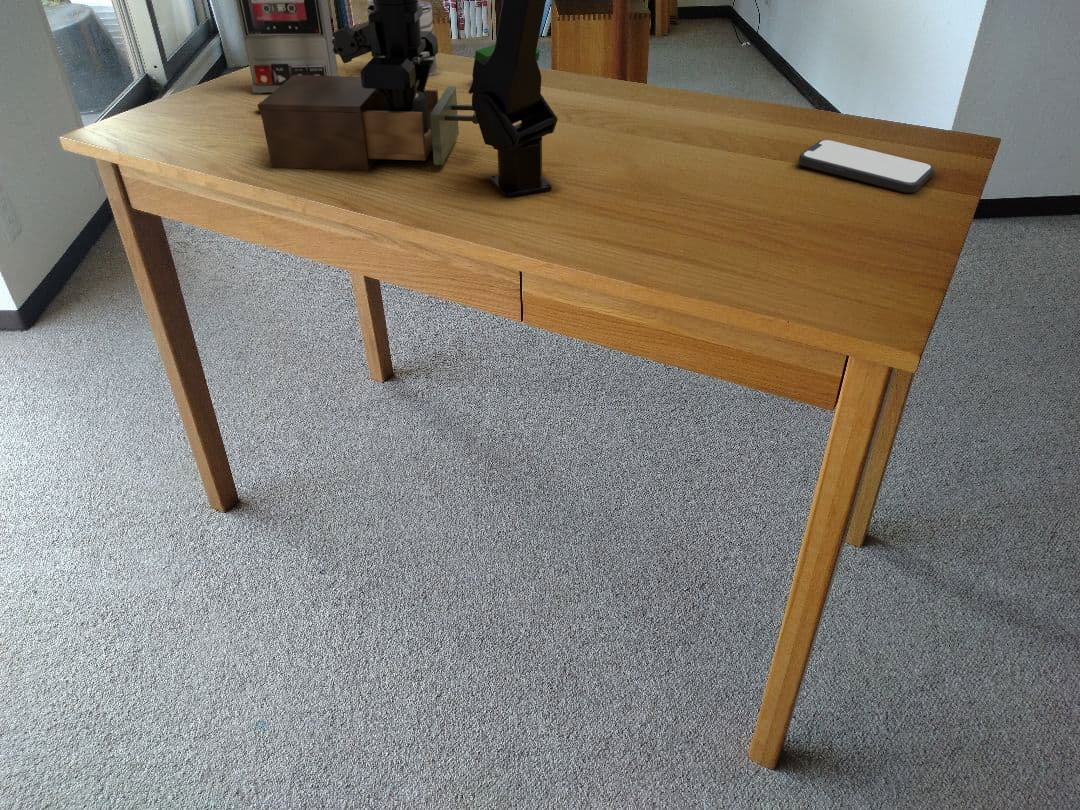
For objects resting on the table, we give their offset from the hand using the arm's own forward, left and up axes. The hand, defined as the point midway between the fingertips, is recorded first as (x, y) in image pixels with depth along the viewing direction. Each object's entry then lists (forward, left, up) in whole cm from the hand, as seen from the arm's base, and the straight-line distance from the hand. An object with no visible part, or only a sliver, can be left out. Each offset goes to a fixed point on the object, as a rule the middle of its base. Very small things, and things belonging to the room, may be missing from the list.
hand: (408, 123), depth 115 cm
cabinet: (+5, +10, -4) cm, 12 cm away
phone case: (-30, -55, -4) cm, 63 cm away
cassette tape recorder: (+38, +10, -4) cm, 40 cm away
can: (+41, -10, -4) cm, 43 cm away
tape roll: (0, 0, -1) cm, 1 cm away
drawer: (-1, -2, -3) cm, 4 cm away
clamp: (+28, -25, -4) cm, 38 cm away
